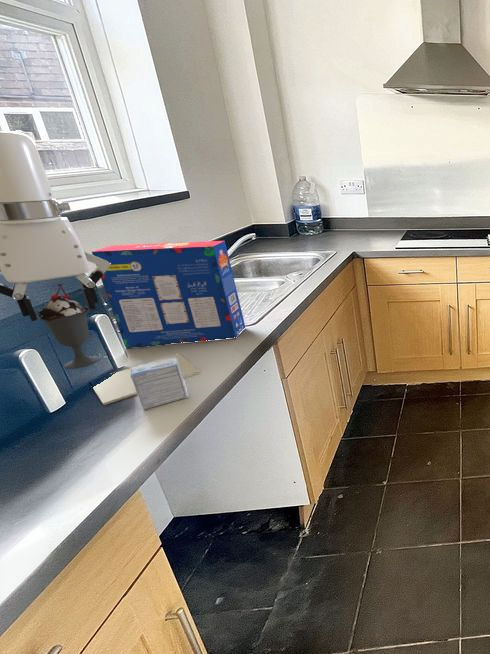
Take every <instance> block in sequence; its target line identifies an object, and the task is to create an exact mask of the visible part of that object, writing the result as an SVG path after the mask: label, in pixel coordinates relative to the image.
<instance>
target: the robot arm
mask: <svg viewBox="0 0 490 654" xmlns="http://www.w3.org/2000/svg"><path fill="white" fill-rule="evenodd" d="M67 211H71V206H70V204H69V202H62V201H57V200H56V199H55V195H54V193H53V190H52V187H51V184H50V182H49V178H48V176H47V172H46V170H45V167H44V164H43V161H42V158H41V156H40V153H39V150H38V147H37V145H36V143H35V140H34V139H33V138H32V137H30V135H28V134H25V133H22V132H16V131H0V273H1V275H2V276H3V278H4V279H5V281H7V282H8V283H10V284H11V283H12V284H13V285H12V287H11V286H8V285H6V284H3V283H0V294H1V295H4V296H7V297H9V298H11V299H13V300H16V302H17V305H18V307H19V310H20V312H21V314H22V316H23V317H29V318H30V321H31V322H34V321H37V320H38V318H37V314H36V312H35V310H34V307H33V303H32V302H31V299H30V296H29V295H27V294H26V290H27V288H28V283H34V282H35V283H36V282H41V281H48V280H49V281H50V280H55V279H62V278H69V277H75V278H76V279H77V280H79V281H80V283H81V285H82V286H81V287H80V288H81V291H82V294H83V297H84V299H85V302H86V305H87V307H89V308H90V309H89V310H96V305H95V304H98V303H100V302H99V299H98V295H97V293H96V289H95V287H96V285H97V283H98V282H99V281H100V280H101V277H102V276H103V274H104V273H105V272H106V271H107V269H108V268H109V267H110V265H111V264H110V263H109V262H108V261H106V260H104V259H101V258H99V257H96V256H94V255H93V254H92V253H90V252H86V251H84V249H83V245H82V244H81V242H80V239H79V237H78V235H77V234H76V231H75V230H74V226H73V225H72V224H71V222H70V220H69V218H68V217H66V216H62V213H63V212H67ZM89 262H90V263H93V264H94V265H96V264H97V266H96V267H95V268H94V270H93V271H92V272H91V273H90V274H89V275H86V273H87V272H88V271H90V263H89Z"/></svg>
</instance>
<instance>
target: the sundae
mask: <svg viewBox="0 0 490 654" xmlns="http://www.w3.org/2000/svg"><path fill="white" fill-rule="evenodd" d="M63 285H64V284H63V283H57V286H58V289H57V292H56V293H55V294H52V295H51V296H50V299H49V300H48V301H46V303H45V304H44V308H42V309H40V310H38V311H37V313H38V315H36V317H37V320H41V321H43V322H44V323H45V324H46V326H47V327H48V330H50V332H51V334H52V336H53V338H55V340H56V341H57V342H58V344H60V345H62V346H65V347H69V348H72V350H73V354H74V358H73V360H70V361H68V362H67V363H65V364H64V365H63V368H64V369H67V370H76V369H81V368H85V367H89V366H92V365H94V364H96V363H98V362H100V361H101V359H102V358H101V357H100V356H98V355H90V356H88V355H87V354H86V353H85V352H84V351H83V348H82V346H83V345H84V344H85V343H86V342H87V340H88V339H89V338H90V337H89V325H88V319H87V314H88V313H89V312H90V310H91V309H90V308H89V307H88V305H87V306H86V305H84V306H82V304H81V303H79V302H78V301H76V300H72V297H71V296H70V295H68V294H66V291H65V290H64V288H63V287H62V286H63ZM60 291H62V292H63V294H64V295H60V294H59V292H60Z"/></svg>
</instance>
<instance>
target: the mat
mask: <svg viewBox="0 0 490 654" xmlns="http://www.w3.org/2000/svg"><path fill="white" fill-rule="evenodd" d="M171 358H177V360H178V363H179V366H180V369H181V373H182V376H183V379H188V378H190V377H194V376H196V375H200V374H201V371H200V370H199V369H198V368H197V367H196V366H194V365H193V364H192V363H191V362H190V361H189V360H187V359H186V358H185V357H184V356H183V355H181V354H180V353H176V354H173V355H170V356H166V357H163V358H160V359H156V360H153V361H149V362H146V363H142V364H140V365H135V367H137V366H141V365H145V364H149V363H154V362H158V361H162V360H166V359H171ZM133 367H134V366H132V367H129V368H126V369H122V370H119V371H115V372H116V373H115V372H114V373H115V374H113V375H112V376H111V377H109V378H108V379H106V380H104V381H103V382H101V383H100V384H97V385H96V386H94V387H93V388H92V389H93V391H94V392H95V394H96V396H97V397H98V399H99V401H100V402H101V403H102V405H103V406H107V405H110V404H112V403H115V402H119V401H122V400H124V399H128V398H131V397H135V396H138V395H137V392H136V389H135V386H134V383H133V381H132V378H131V370H132V368H133Z"/></svg>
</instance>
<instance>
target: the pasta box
mask: <svg viewBox="0 0 490 654" xmlns="http://www.w3.org/2000/svg"><path fill="white" fill-rule="evenodd" d="M226 244H227V243H226V241H225V240H212V241H211V240H210V241H188V242H187V241H186V242H185V241H183V242H162V243H160V242H159V243H158V242H157V243H140V244H139V243H137V244H117V245H115V244H113V245H109V246H105V247H102V248H98V249H95V250H92V251H91V254H92V255H94V256H96V257H99V258H101V259H104V260H106V261H108V262H109V263H110V264H111V265H110V267H109V268H108V269H107V271H106V272H105V273H104V274H103V276H102V277H101V279H100V280H101V282H102V285H103V288H104V291H105V294H106V297H107V299H108V302H109V305H110V309H111V311H112V314H113V317H114V319H115V322H116V325H117V328H118V331H119V334H120V338H121V339H122V342H123V345H124V348H125V347H126V348H127V349H133V348H132V347H139V348H148V347H147V346H150V347H157V346H156V345H162V346H166V345H165V344H171V343H181V342H182V343H183V342H195V341H206V340H207V341H208V340H215V339H226V338H234V337H235V338H236V337H237V336H238V335H239V333H240V332H241V331H242V330H243V329H244V328H245V327H246V324H245V320H244V315H243V312H242V306H241V303H240V298H239V295H238V289H237V285H236V281H235V278H234V274H233V270H232V265H231V260H230V257H229V253H228V247H227V245H226ZM95 266H96V267H97V264H95ZM239 336H240V335H239ZM208 342H209V341H208ZM126 348H125V349H126Z"/></svg>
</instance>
